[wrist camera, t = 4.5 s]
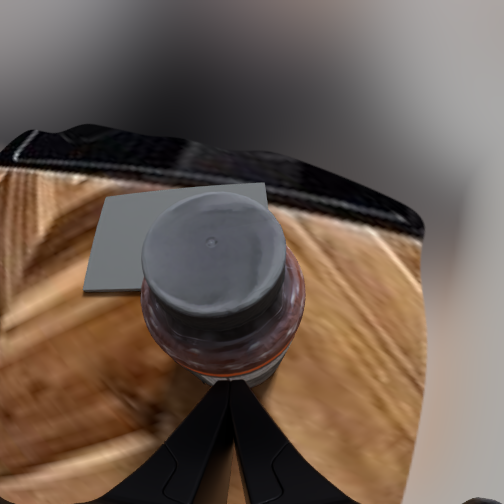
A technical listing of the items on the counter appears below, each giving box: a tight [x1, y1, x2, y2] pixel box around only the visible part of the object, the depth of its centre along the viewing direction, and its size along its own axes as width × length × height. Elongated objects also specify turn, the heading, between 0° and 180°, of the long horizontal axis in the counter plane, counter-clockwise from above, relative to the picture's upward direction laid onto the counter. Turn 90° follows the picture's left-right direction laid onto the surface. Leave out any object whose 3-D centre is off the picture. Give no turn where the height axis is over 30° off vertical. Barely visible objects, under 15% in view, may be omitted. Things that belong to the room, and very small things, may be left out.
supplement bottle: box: [141, 191, 305, 388], centre depth 13 cm, size 6×6×11 cm
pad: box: [83, 183, 268, 292], centre depth 21 cm, size 9×14×1 cm, turn 94°
